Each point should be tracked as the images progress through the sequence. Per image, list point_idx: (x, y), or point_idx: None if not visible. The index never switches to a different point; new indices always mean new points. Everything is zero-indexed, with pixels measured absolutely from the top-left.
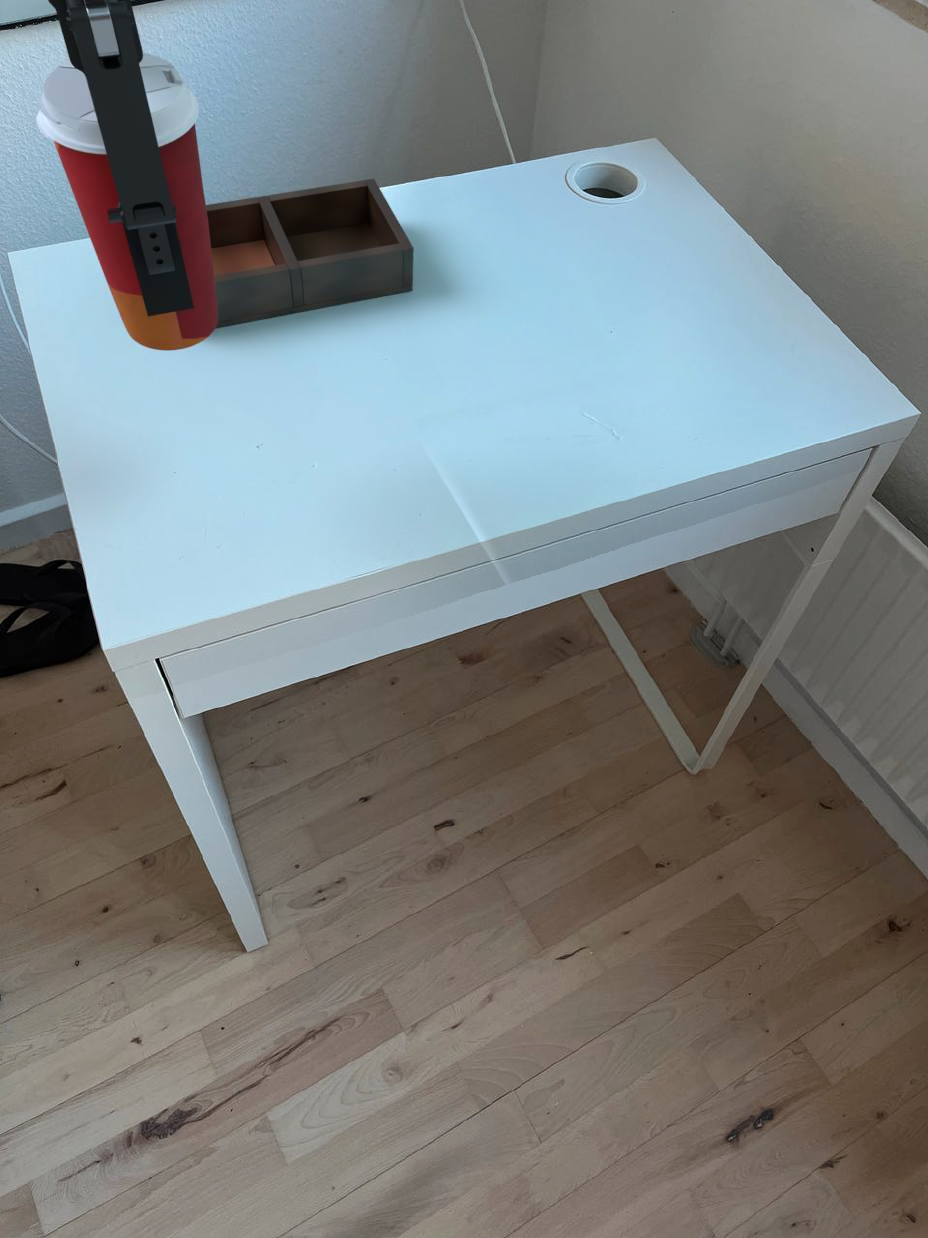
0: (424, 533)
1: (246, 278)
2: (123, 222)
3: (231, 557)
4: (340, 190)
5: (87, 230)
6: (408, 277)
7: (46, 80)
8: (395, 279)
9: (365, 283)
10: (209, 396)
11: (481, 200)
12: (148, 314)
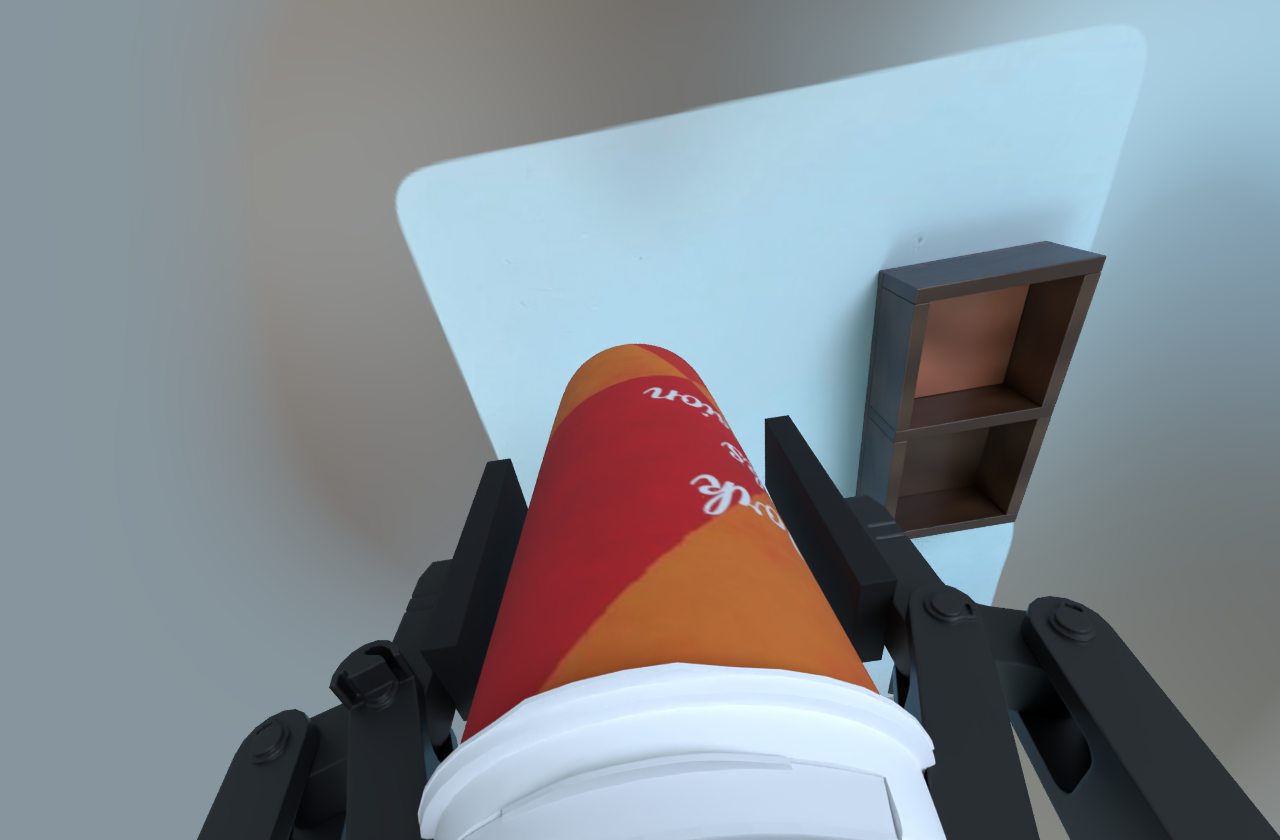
0: (531, 483)
1: (901, 384)
2: (259, 733)
3: (507, 315)
4: (1013, 489)
5: (609, 446)
6: None
7: (783, 837)
8: None
9: (868, 480)
10: (758, 303)
11: (959, 572)
12: (487, 465)
